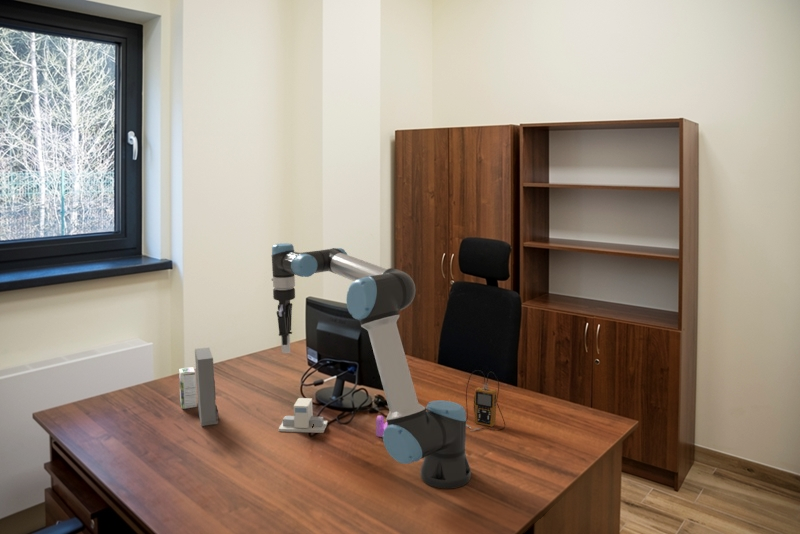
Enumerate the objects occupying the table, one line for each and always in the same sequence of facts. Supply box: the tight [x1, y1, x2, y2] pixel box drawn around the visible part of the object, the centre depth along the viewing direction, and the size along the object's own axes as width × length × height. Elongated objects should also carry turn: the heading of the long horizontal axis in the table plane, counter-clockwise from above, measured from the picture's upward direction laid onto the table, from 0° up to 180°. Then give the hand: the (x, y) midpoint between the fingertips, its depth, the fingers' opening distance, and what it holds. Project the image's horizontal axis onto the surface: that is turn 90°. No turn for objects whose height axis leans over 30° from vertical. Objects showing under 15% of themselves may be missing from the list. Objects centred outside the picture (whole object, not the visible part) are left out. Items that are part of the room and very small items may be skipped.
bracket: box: [375, 415, 388, 438], centre depth 230 cm, size 13×6×7 cm, turn 161°
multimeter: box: [465, 369, 506, 432], centre depth 230 cm, size 15×10×20 cm
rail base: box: [277, 415, 328, 434], centre depth 233 cm, size 16×8×4 cm, turn 86°
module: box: [293, 397, 314, 428], centre depth 232 cm, size 5×8×8 cm, turn 176°
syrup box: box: [178, 367, 198, 410], centre depth 252 cm, size 6×6×14 cm
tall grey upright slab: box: [194, 347, 219, 427], centre depth 239 cm, size 14×6×25 cm, turn 22°
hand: (286, 352), depth 232 cm, fingers closed
